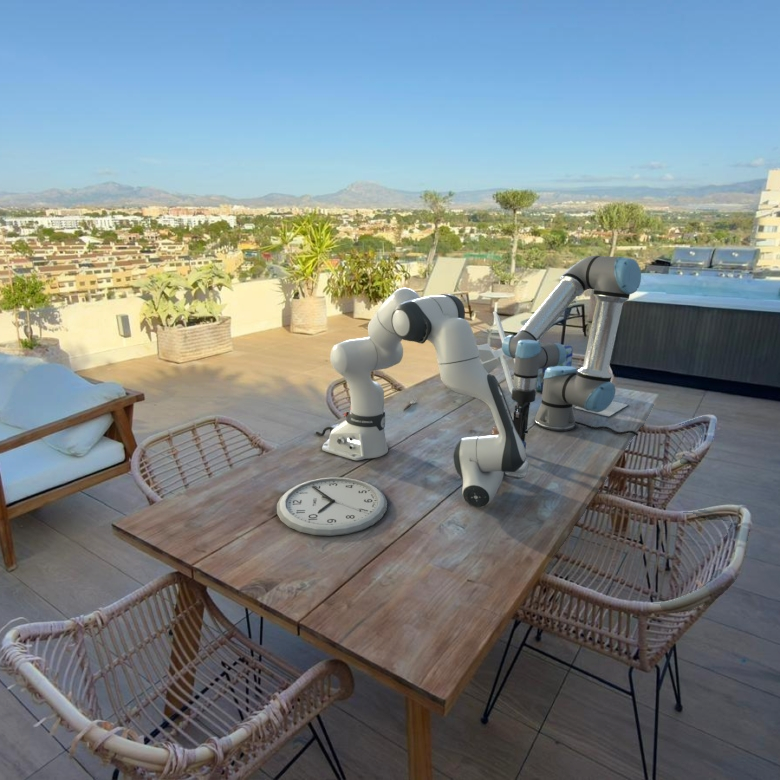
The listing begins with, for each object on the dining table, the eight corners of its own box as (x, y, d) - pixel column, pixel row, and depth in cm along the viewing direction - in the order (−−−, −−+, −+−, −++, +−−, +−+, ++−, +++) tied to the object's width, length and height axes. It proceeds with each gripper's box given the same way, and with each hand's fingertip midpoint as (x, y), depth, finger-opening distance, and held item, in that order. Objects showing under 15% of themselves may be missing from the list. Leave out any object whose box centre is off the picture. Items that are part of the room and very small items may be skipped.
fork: (400, 411, 216) (400, 406, 215) (412, 399, 230) (412, 395, 230) (406, 412, 215) (406, 407, 215) (418, 400, 230) (418, 396, 229)
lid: (528, 449, 173) (529, 444, 173) (515, 450, 172) (515, 446, 171) (520, 443, 178) (520, 438, 178) (507, 444, 176) (507, 440, 176)
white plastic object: (461, 429, 252) (437, 405, 227) (444, 352, 274) (420, 323, 250) (535, 404, 240) (518, 377, 215) (510, 326, 262) (492, 293, 237)
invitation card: (608, 416, 214) (573, 407, 224) (608, 416, 214) (573, 408, 224) (628, 404, 229) (594, 396, 238) (628, 405, 229) (594, 397, 238)
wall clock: (392, 527, 129) (268, 531, 127) (391, 533, 130) (269, 537, 127) (383, 473, 158) (282, 475, 155) (383, 478, 158) (282, 480, 156)
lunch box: (544, 395, 239) (549, 351, 233) (524, 390, 247) (528, 347, 240) (571, 384, 257) (577, 343, 251) (552, 380, 264) (556, 339, 258)
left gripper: (526, 468, 145) (532, 449, 157) (454, 455, 152) (466, 439, 164) (524, 488, 147) (530, 468, 159) (453, 475, 154) (465, 457, 166)
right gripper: (519, 380, 178) (512, 443, 185) (505, 393, 163) (499, 462, 169) (541, 383, 175) (534, 447, 182) (529, 397, 160) (522, 467, 166)
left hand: (497, 453), depth 162 cm, fingers closed on jar, 5 cm apart
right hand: (517, 454), depth 176 cm, fingers closed on lid, 5 cm apart
